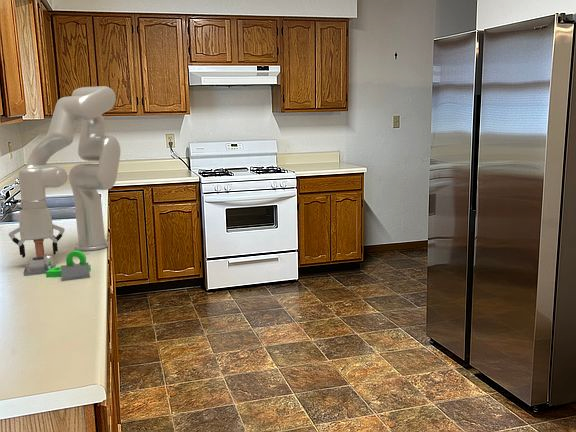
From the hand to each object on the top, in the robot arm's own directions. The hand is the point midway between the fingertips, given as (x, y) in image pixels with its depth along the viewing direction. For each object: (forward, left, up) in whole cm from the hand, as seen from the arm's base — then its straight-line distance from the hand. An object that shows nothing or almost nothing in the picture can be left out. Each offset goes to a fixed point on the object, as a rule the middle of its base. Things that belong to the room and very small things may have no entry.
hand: (39, 255), depth 193 cm
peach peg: (0, 0, -3) cm, 3 cm away
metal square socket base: (+8, 0, -3) cm, 8 cm away
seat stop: (+23, +11, -3) cm, 26 cm away
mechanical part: (+17, +9, -4) cm, 19 cm away
